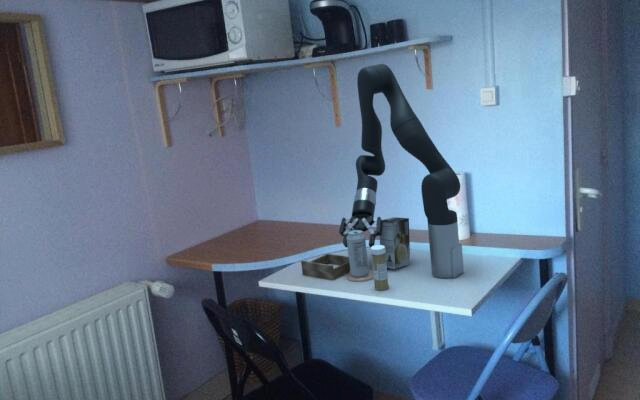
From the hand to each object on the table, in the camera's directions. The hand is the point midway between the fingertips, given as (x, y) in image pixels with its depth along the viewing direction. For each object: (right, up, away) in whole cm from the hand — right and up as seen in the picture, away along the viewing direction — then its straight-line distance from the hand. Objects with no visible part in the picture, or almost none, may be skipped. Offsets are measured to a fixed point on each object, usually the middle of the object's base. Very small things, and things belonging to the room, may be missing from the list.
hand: (358, 246), depth 183 cm
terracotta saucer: (+1, -10, +2) cm, 11 cm away
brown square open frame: (-9, -10, +11) cm, 17 cm away
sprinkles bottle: (+7, -12, -10) cm, 17 cm away
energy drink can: (+1, -10, +2) cm, 10 cm away
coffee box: (+13, -7, +7) cm, 17 cm away
